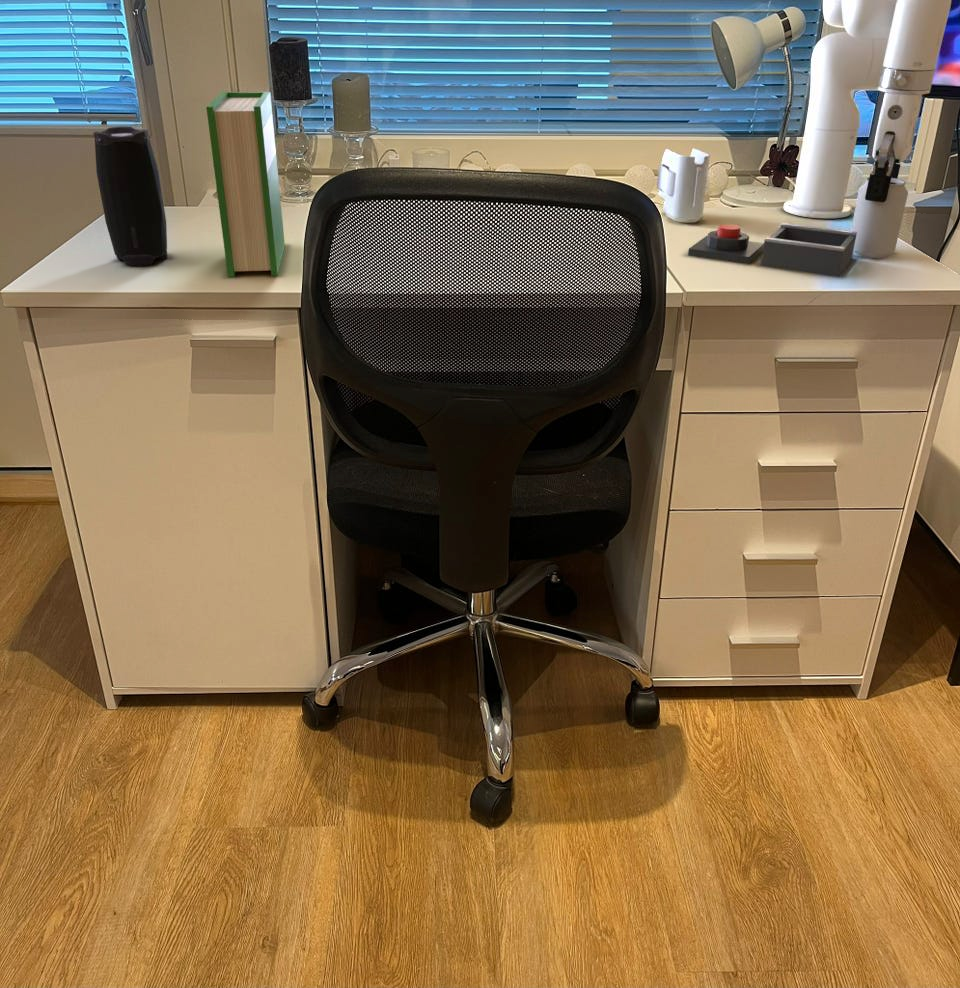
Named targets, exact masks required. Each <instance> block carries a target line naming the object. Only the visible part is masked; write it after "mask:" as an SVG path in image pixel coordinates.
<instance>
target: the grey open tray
mask: <svg viewBox="0 0 960 988" xmlns="http://www.w3.org/2000/svg"><path fill="white" fill-rule="evenodd" d="M856 235H857V232H853V231H851V230H844V229H835V228H828V227H819V226H812V225H802V224H794V223H787V222H782V223H781V224H780V227H779V228H777V229H776V230H775V231H774V232H773V233H772V234H771V235H770V236H769V237H767V236H766V237H765V238H764V242H763V243H764V247H763V251H762V253H761V254H762V255H761V260H760V266H761V267H767V268H772V269H779V270H780V269H782V270H787V271H795V272H801V273H809V274H815V275H821V276H828V277H829V276H830V277H837V278H838V277H840V275H841V274H842V273H843V271H844V270H845V268H846V267H847V266H848V264H849V263H850V261H852V259H853V255H854V254H853V250H854V245H855V240H856Z"/></svg>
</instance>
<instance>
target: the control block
mask: <svg viewBox="0 0 960 988" xmlns="http://www.w3.org/2000/svg"><path fill="white" fill-rule="evenodd" d="M717 233H718V229H717V230H711V231H709V232H708V233H707V235H705V236H704V237H703V238H701V239H700V240H699V241H697V242H696V243H695V244H693V245H691V247H689V248H688V252H687V256H689V257H694V258H695V257H696V258H702V259H709V260H717V261H723V262H730V263H737V264H745V265H749V264H750V263H751V262H752V261H753V260H754V259H755V258H756V257H757V256H759V255H760V254H762V253H763V247H764V242H758V241H750V236H749V234H747V233H745V232H742V231H740V237H739V238H723V237H719V236H717Z"/></svg>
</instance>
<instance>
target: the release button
mask: <svg viewBox="0 0 960 988" xmlns="http://www.w3.org/2000/svg"><path fill="white" fill-rule="evenodd" d="M717 227H718V228H717V230H718V233H717V236H719V237H723V238H739V237H740V232H741V228H742V227H741V226H740V225H737V224H731V223H723V224H719V225H718V226H717Z"/></svg>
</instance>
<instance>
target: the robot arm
mask: <svg viewBox="0 0 960 988" xmlns="http://www.w3.org/2000/svg"><path fill="white" fill-rule="evenodd" d="M951 5H952V0H822V13H823V14H822V15H823V19H824V21H825V23H826V24H827V25H829V26H831V27H835V28H842V29H843V28H844V30H845V31H839V32H834V33H829V34H827V35H825V36H823V37H822V38H820V39H819V40H818V42H817V43H816V44H815V46H814V48H813V51H812V53H811V58H810V59H811V60H810V88H809V89H810V90H809V99H808V107H807V114H806V121H805V127H804V133H803V139H802V144H801V145H802V146H801V150H800V156H799V162H798V169H797V175H796V178H795V179H796V180H795V184H794V185H795V186H794V191H793V198H792V199H791V200H787V201H785V202H784V203H783V211H784V212H786V213H789V214H791V215H794V216H799V217H803V218H812V219H841V218H847V217H848V216H850V215H851V213H852V207H851V206H850V205H848V204H845V201H846V200H845V199H846V195H847V190H848V185H849V180H850V174H851V169H852V165H853V164H852V163H853V159H854V154H855V150H856V149H855V148H856V144H857V138H858V134H859V129H860V123H861V112H860V109H859V106H858V104H857V103H856V100H855V99H854V97H853V95H852V92H854V91H855V92H856V91H857V92H858V91H879V92H883V93H884V94H883V100H882V104H881V108H880V112H879V117H878V121H877V127H876V132H875V136H874V142H873V148H872V153H871V154H872V155H871V156H872V158H873V159H874V163H873V165H872V169H871V173H870V174H869V177H868V178H869V181H868V186H867V191H866V195H865V200H868V201H876V202H885V201H886V199H887V195H888V191H889V187H890V182H891V178H896V179H899V178H898V177H899V174H900V170H901V163H903V162H904V161H906V160H907V159H908V157H909V156H910V154H911V152H912V148H913V143H914V139H915V134H916V129H917V125H918V119H919V114H920V112H921V111H920V110H921V105H922V100H923V99H922V98H923V95H928V94H930V93H931V89H932V85H933V82H934V81H933V80H934V76H935V73H936V67H937V63H938V59H939V57H940V56H939V55H940V51H941V46H942V43H943V38H944V35H945V31H946V27H947V22H948V18H949V15H950V10H951V7H952V6H951Z"/></svg>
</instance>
